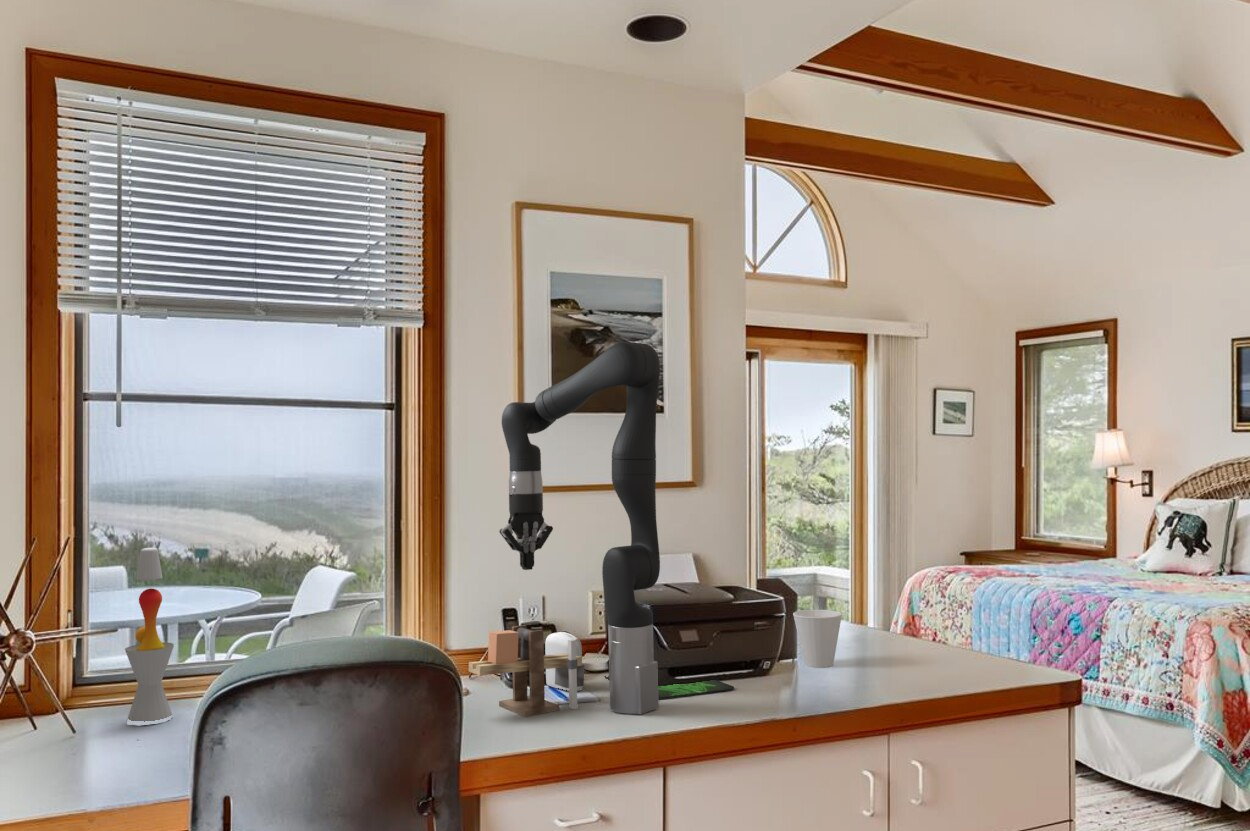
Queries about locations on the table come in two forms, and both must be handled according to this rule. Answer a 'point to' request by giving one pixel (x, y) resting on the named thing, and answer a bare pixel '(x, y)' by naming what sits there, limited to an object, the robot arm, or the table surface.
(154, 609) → the lava lamp
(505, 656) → the rider
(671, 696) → the mouse mat
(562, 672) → the beam
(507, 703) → the pivot post
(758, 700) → the table surface
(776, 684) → the table surface
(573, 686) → the post
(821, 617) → the cup
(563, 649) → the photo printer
